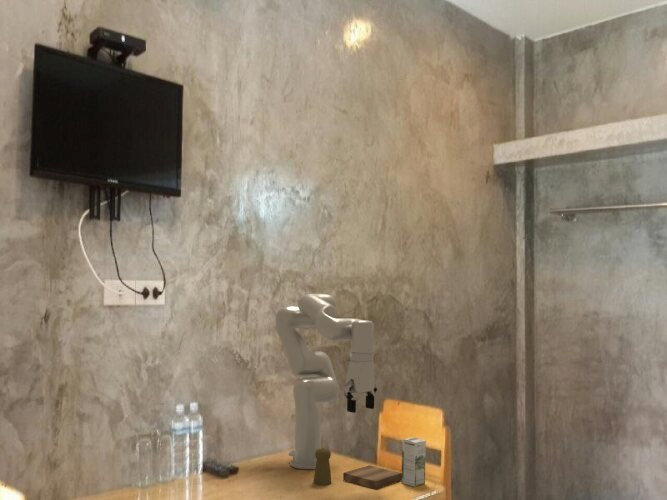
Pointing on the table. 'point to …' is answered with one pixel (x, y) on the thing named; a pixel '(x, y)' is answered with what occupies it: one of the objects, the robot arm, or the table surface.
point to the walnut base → (372, 476)
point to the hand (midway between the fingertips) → (360, 410)
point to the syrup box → (413, 461)
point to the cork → (322, 467)
